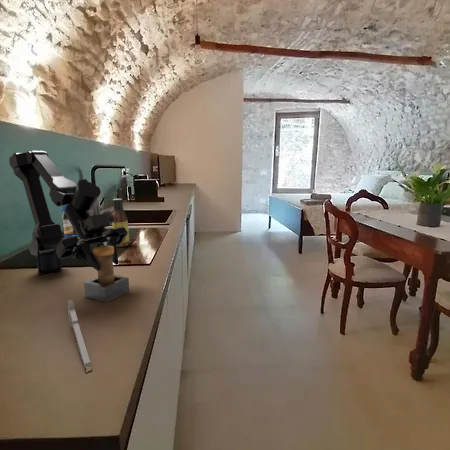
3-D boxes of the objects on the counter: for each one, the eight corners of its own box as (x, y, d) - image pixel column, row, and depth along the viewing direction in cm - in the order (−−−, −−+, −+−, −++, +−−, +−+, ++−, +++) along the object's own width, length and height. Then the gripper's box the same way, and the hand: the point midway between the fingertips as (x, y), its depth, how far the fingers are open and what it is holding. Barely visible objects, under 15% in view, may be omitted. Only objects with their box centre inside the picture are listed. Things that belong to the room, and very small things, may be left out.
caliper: (69, 324, 73) (66, 298, 71) (74, 323, 73) (71, 297, 72) (86, 374, 56) (82, 341, 54) (92, 372, 56) (89, 339, 55)
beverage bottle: (87, 237, 154) (84, 194, 150) (71, 240, 147) (66, 196, 143) (77, 234, 158) (73, 193, 154) (60, 238, 151) (55, 195, 147)
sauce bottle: (132, 244, 140) (129, 198, 136) (123, 248, 134) (120, 200, 130) (120, 243, 142) (116, 197, 138) (110, 246, 136) (106, 199, 132)
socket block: (106, 302, 83) (104, 287, 82) (85, 296, 87) (84, 282, 86) (129, 291, 90) (128, 277, 89) (109, 286, 94) (108, 273, 93)
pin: (96, 299, 85) (91, 251, 83) (99, 291, 90) (94, 246, 88) (116, 297, 86) (112, 249, 84) (118, 289, 91) (114, 245, 89)
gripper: (56, 206, 78) (85, 258, 74) (121, 198, 93) (149, 241, 89) (44, 234, 85) (70, 283, 80) (107, 222, 99) (132, 264, 95)
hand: (108, 266), depth 86 cm, fingers open, 5 cm apart
